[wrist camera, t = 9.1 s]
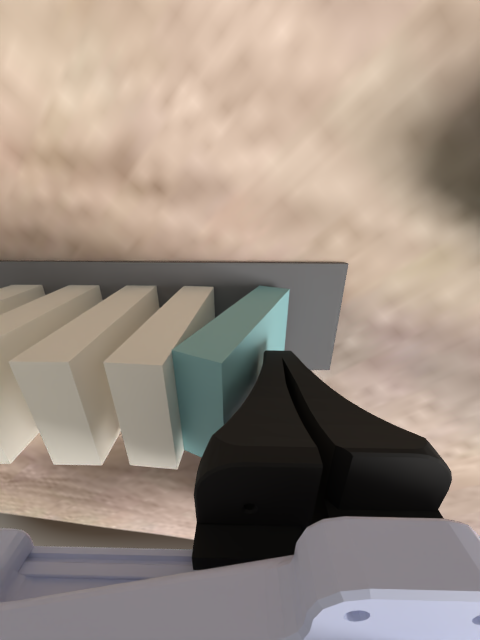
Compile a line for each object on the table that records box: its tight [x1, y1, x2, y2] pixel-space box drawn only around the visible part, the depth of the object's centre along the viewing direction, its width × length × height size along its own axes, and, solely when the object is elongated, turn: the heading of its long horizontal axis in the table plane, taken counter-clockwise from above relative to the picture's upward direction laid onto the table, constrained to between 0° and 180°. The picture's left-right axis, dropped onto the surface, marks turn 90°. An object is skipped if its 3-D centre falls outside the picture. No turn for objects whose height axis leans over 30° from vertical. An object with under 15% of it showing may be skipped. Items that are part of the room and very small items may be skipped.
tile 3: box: [8, 285, 160, 465], centre depth 13 cm, size 5×2×9 cm, turn 0°
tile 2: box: [103, 286, 215, 470], centre depth 13 cm, size 5×2×9 cm, turn 0°
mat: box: [0, 261, 348, 370], centre depth 18 cm, size 8×24×1 cm, turn 90°
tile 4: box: [0, 285, 103, 464], centre depth 13 cm, size 5×2×9 cm, turn 0°
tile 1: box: [172, 285, 290, 457], centre depth 13 cm, size 5×2×9 cm, turn 0°
